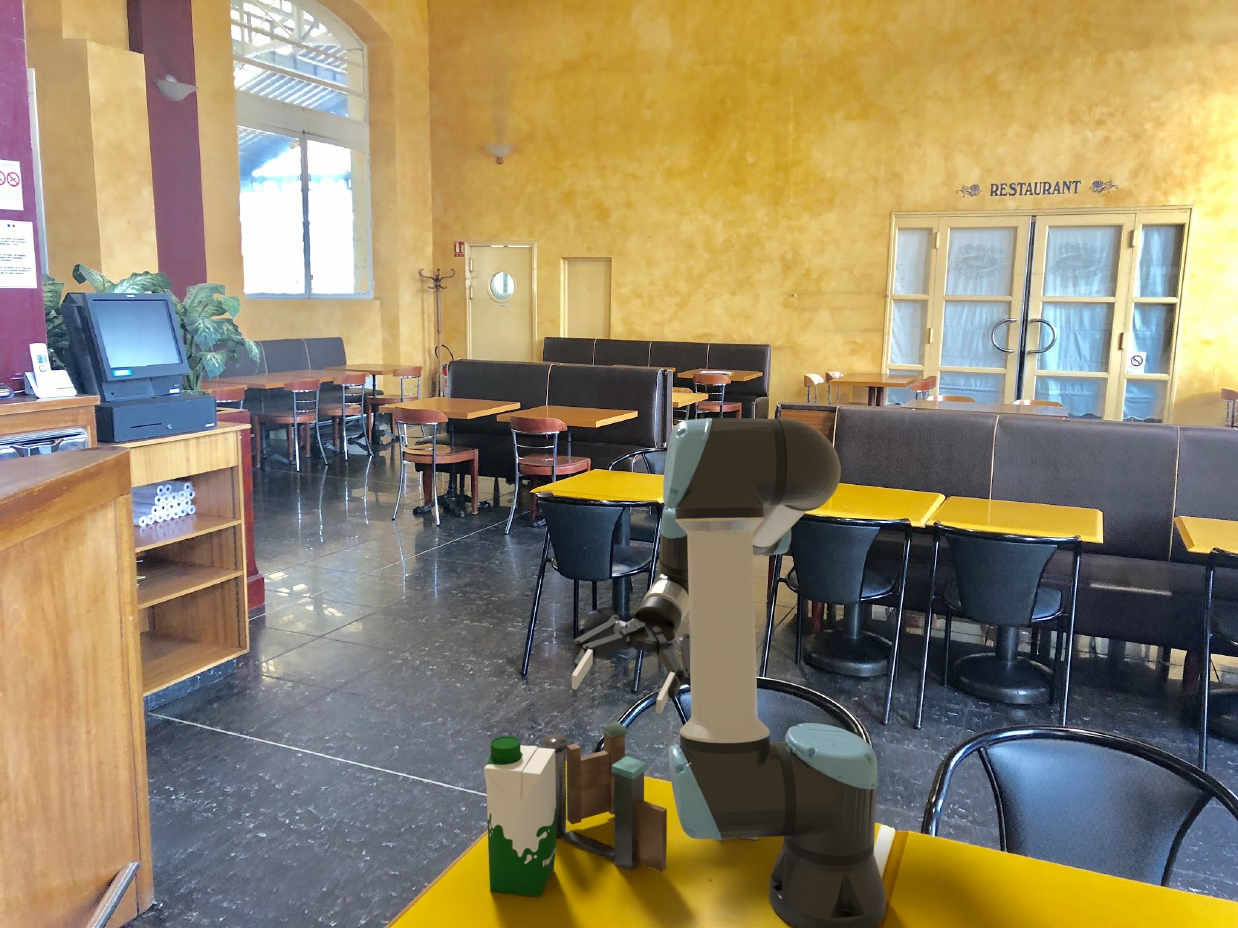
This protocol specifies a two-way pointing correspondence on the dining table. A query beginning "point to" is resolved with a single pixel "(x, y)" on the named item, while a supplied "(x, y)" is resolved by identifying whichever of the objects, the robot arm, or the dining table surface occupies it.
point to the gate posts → (617, 815)
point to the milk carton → (520, 816)
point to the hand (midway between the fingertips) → (615, 694)
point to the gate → (593, 775)
